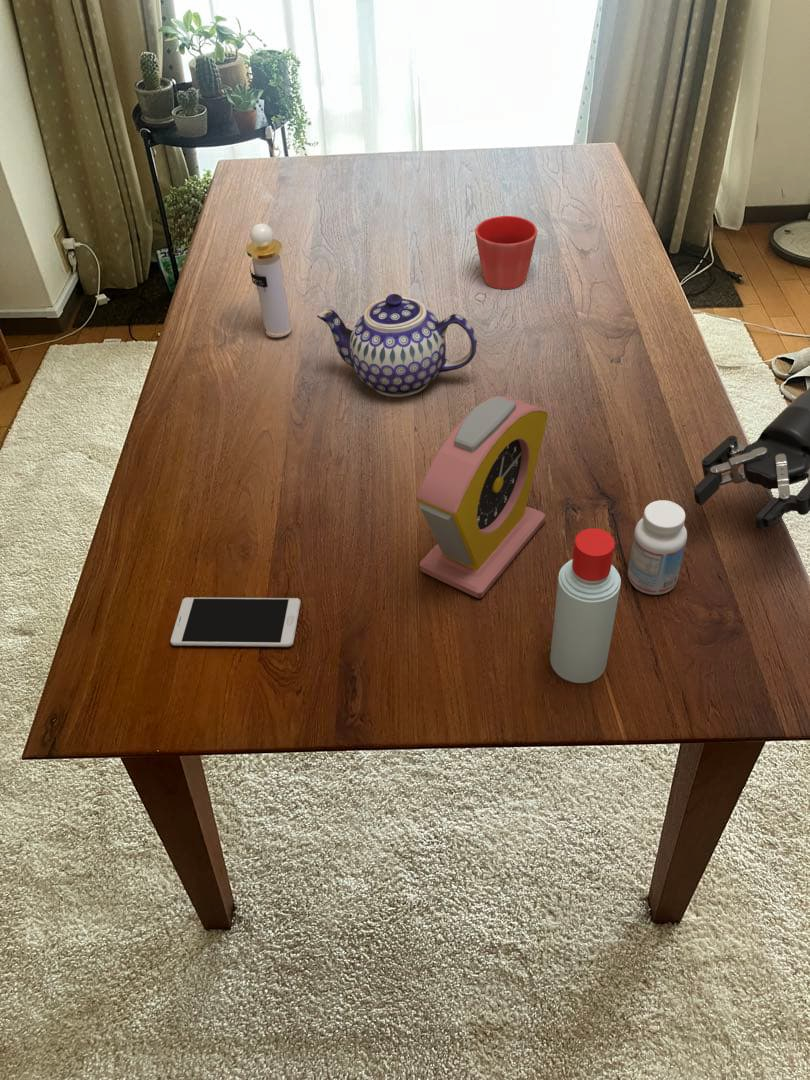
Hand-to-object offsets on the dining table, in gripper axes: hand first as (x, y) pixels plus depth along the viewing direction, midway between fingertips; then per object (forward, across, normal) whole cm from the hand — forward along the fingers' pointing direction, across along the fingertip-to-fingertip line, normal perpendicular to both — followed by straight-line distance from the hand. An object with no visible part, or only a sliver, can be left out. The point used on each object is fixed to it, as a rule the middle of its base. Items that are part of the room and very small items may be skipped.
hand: (727, 511), depth 106 cm
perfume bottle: (+9, -83, -11) cm, 84 cm away
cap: (+22, +1, -12) cm, 25 cm away
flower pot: (-30, -70, +1) cm, 76 cm away
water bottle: (+25, -2, +3) cm, 25 cm away
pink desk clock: (+20, -22, 0) cm, 30 cm away
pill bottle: (+10, -5, +6) cm, 12 cm away
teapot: (+3, -59, -4) cm, 59 cm away
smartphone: (+50, -32, -10) cm, 61 cm away
